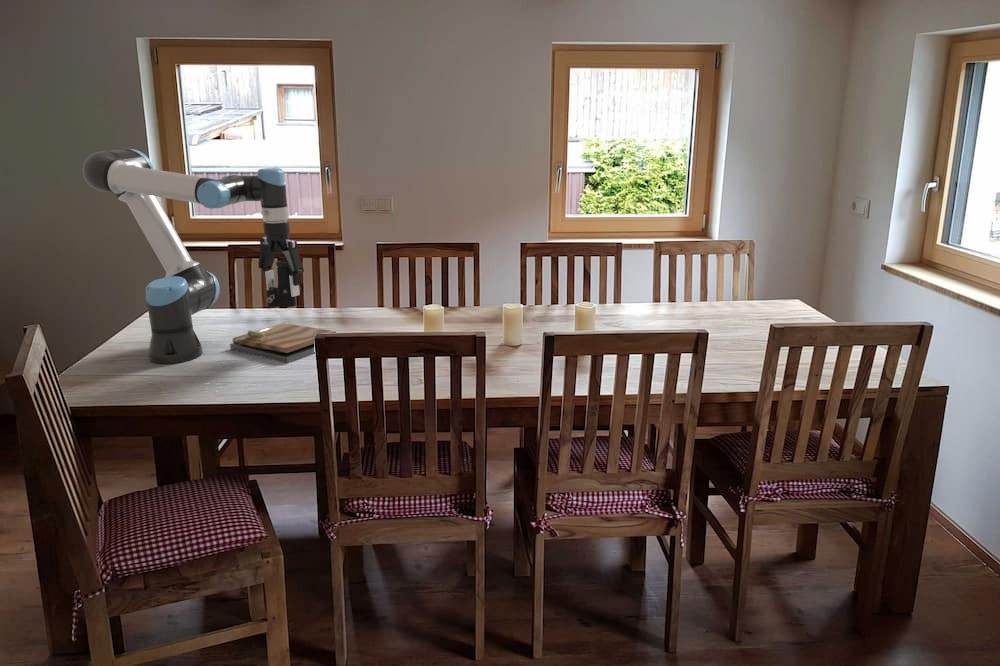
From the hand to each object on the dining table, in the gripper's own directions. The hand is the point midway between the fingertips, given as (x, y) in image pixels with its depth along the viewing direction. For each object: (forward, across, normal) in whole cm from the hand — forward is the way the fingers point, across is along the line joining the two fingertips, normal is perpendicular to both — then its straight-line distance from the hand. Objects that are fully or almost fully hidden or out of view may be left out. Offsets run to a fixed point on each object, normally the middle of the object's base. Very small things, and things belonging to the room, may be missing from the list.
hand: (283, 293), depth 244 cm
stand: (+17, -1, 0) cm, 17 cm away
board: (+15, 0, 0) cm, 15 cm away
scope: (+4, +1, 0) cm, 4 cm away
